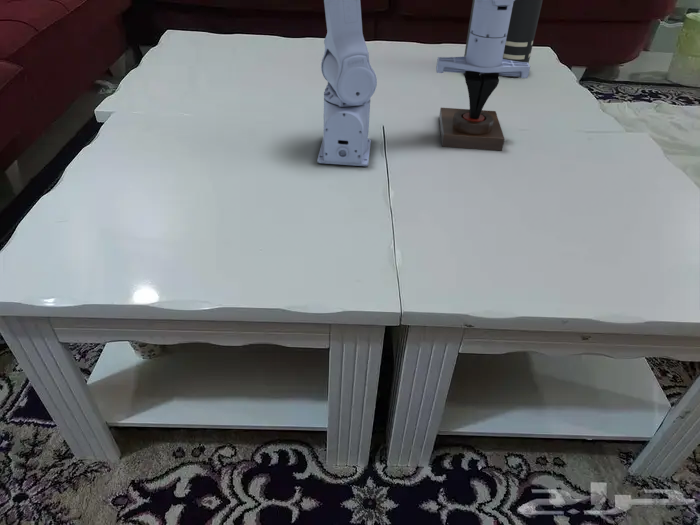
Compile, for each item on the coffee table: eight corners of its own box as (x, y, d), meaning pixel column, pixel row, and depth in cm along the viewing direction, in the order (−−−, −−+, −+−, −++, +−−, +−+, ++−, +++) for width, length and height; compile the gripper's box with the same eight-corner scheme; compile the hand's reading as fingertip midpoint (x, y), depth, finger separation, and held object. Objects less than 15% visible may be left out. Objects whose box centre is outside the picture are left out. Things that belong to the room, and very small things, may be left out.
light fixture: (529, 80, 125) (549, -9, 114) (466, 75, 126) (480, -13, 115) (522, 65, 133) (541, -19, 122) (463, 61, 134) (476, -23, 123)
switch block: (502, 150, 96) (506, 128, 93) (442, 146, 96) (445, 124, 94) (493, 122, 105) (497, 101, 103) (438, 118, 106) (441, 97, 103)
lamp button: (483, 131, 96) (485, 121, 95) (462, 129, 96) (463, 119, 95) (481, 122, 99) (483, 113, 98) (460, 121, 99) (462, 111, 98)
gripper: (531, 28, 92) (513, 110, 100) (440, 23, 92) (430, 104, 100) (539, 41, 86) (520, 126, 94) (442, 35, 87) (431, 120, 95)
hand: (473, 116), depth 97 cm, fingers closed, pressing on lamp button
